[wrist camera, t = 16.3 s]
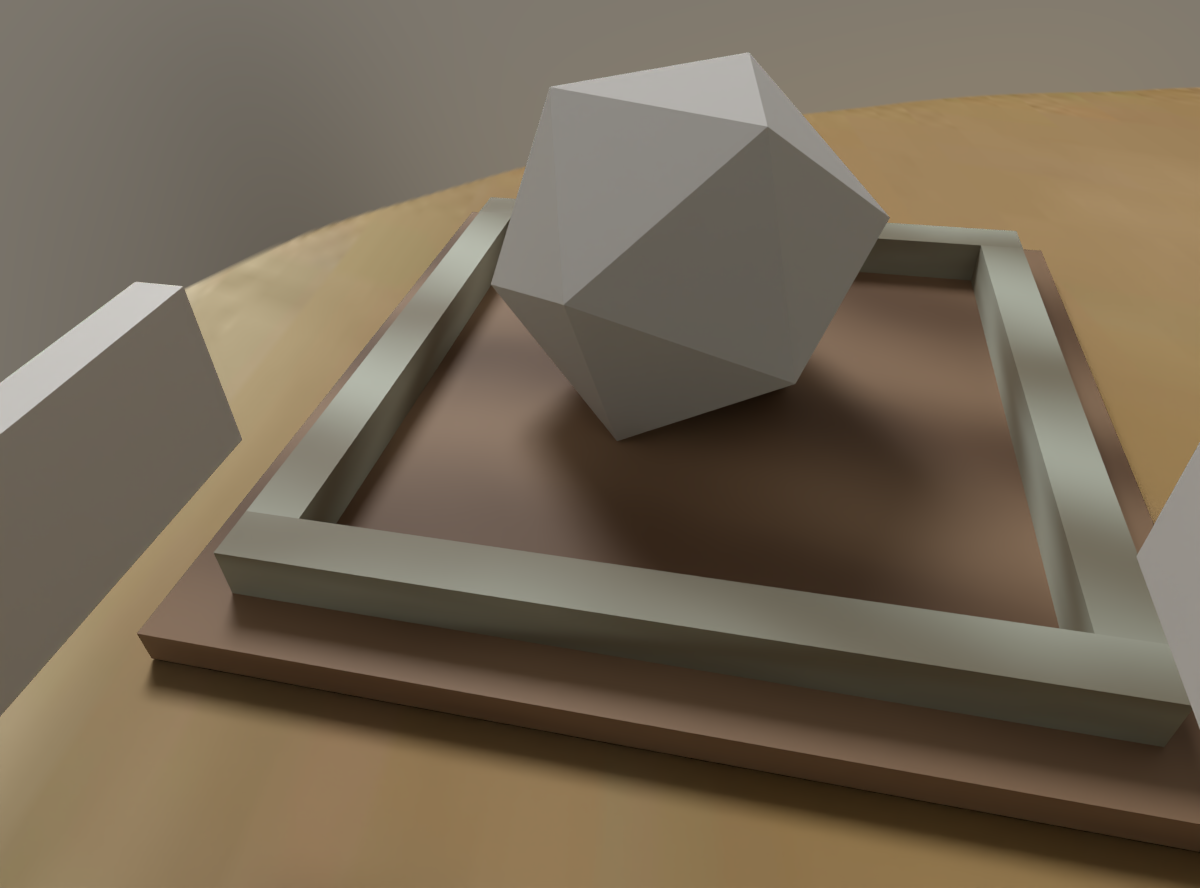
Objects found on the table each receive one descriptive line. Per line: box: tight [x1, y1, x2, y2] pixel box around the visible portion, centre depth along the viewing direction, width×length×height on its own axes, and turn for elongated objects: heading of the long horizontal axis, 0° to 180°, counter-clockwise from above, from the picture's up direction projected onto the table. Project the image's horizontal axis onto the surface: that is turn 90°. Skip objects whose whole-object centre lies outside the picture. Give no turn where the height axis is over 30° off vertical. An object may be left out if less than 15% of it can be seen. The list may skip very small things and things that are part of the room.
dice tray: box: [137, 197, 1200, 852], centre depth 22 cm, size 20×20×2 cm
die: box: [491, 52, 890, 441], centre depth 20 cm, size 8×9×10 cm
